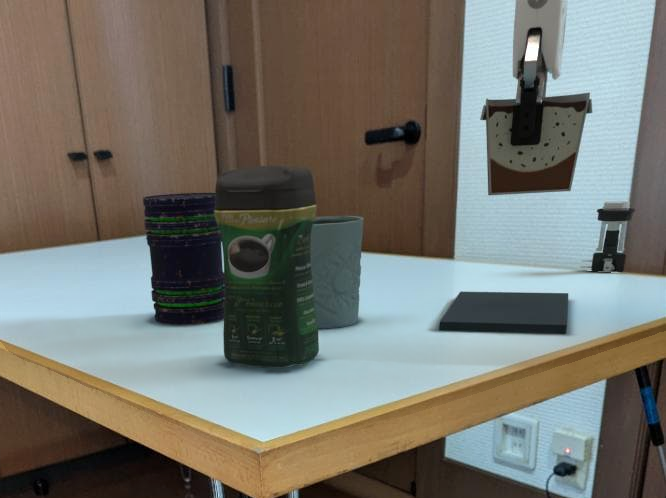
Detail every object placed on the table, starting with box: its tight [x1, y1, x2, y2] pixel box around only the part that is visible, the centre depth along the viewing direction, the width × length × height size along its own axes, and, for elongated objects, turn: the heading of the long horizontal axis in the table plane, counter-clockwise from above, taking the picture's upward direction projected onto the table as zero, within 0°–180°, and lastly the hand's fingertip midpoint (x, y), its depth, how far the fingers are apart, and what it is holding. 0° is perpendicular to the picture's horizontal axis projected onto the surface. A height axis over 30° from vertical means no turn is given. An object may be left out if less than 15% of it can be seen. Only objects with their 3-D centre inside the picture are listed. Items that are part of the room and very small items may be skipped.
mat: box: [438, 291, 569, 335], centre depth 99 cm, size 14×20×1 cm
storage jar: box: [142, 192, 224, 326], centre depth 103 cm, size 10×10×15 cm
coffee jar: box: [214, 165, 320, 369], centre depth 80 cm, size 10×8×19 cm
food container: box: [479, 92, 593, 196], centre depth 94 cm, size 12×6×10 cm, turn 89°
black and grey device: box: [579, 200, 636, 273], centre depth 124 cm, size 7×5×10 cm
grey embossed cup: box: [310, 215, 365, 330], centre depth 98 cm, size 10×10×12 cm
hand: (527, 143), depth 93 cm, fingers closed on food container, 7 cm apart
